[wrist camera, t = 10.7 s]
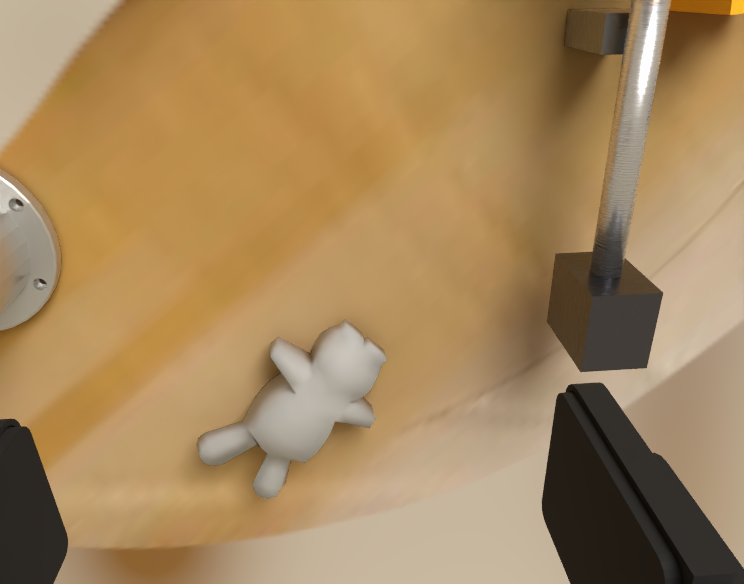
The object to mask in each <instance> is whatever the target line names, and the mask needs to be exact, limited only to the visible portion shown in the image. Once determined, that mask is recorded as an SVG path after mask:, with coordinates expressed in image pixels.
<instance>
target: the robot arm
mask: <svg viewBox="0 0 744 584" xmlns="http://www.w3.org/2000/svg"><path fill="white" fill-rule="evenodd" d="M19 200H20V201H22V203H23V204H22V203H20V202H19ZM60 272H61V252H60V246H59V240H58V237H57V235H56V232H55V229H54V227H53V224H52V222H51V220H50V219H49V217H48V215H47V214H46V212H45V210H44V209H43V207H42V206H41V204H40V203H39V202H38V201H37V200H36V199H35V197H34V196H33V195H32V194H31V193H30V192H29V190H27V189H26V188H25V187H24V186H23V185H22V184H20V183H19V182H18V181H17V180H16V179H15V178H13V177H12V176H11V175H9V174H8V173H6V172H5V171H3V170H1V169H0V331H2V330H6V329H10V328H13V327H15V326H17V325H19V324H21V323H23V322H25V321H27V320H28V319H30V318H31V317H32V316H33V315H34V314H36V313H37V312H38V311H39V310H40V309H41V308H42V307H43V306H44V304H45V303H46V302H47V301H48V300H49V298H50V297H51V295H52V293H53V291H54V290H55V288H56V286H57V282H58V279H59V276H60ZM542 511H543V516H544V520H545V523H546V525H547V528H548V530H549V533H550V535H551V538H552V540H553V542H554V545H555V547H556V550H557V552H558V555H559V557H560V559H561V562H562V564H563V567H564V569H565V571H566V574H567V576H568V579H569V581H570V583H571V584H744V569H743V567H742V566H741V564H740V563H739V562H738V560H737V559H736V557H735V556H734V555H733V553H732V552H731V550H730V549H729V548H728V546H727V545H726V544H725V542H724V541H723V539H722V538H721V537H720V535H719V534H718V532H717V531H716V530H715V528H714V527H713V526H712V524H711V523H710V521H709V520H708V519H707V517H706V516H705V514H704V513H703V512H702V510H701V509H700V508H699V506H698V505H697V503H696V502H695V500H694V499H693V498H692V496H691V495H690V494H689V492H688V491H687V489H686V488H685V487H684V485H683V484H682V483H681V481H680V480H679V479H678V477H677V475H676V474H675V473H674V471H673V470H672V469H671V467H670V466H669V464H668V463H667V462H666V461H665V460H664V459H663V457H662V456H660V455H658V454H656V453H652V452H651V451H650V449H649V448H648V446H647V445H646V443H645V442H644V441H643V439H642V438H641V436H640V435H639V433H638V432H637V431H636V429H635V428H634V426H633V425H632V424H631V422H630V421H629V419H628V418H627V416H626V415H625V414H624V412H623V411H622V409H621V408H620V406H619V405H618V403H617V402H616V401H615V399H614V398H613V396H612V395H611V394H610V392H609V391H608V389H607V388H606V387H605V386H604V384H602V383H584V384H571V385H568V387H567V389H566V393H559V394H558V396H557V399H556V406H555V413H554V420H553V427H552V434H551V441H550V448H549V455H548V462H547V469H546V476H545V483H544V490H543V498H542ZM67 548H68V537H67V533H66V530H65V527H64V525H63V522H62V519H61V516H60V513H59V510H58V508H57V505H56V502H55V499H54V496H53V494H52V491H51V488H50V485H49V482H48V479H47V477H46V474H45V471H44V468H43V465H42V462H41V460H40V457H39V454H38V451H37V448H36V446H35V443H34V440H33V437H32V434H31V432H30V430H29V429H28V428H27V427H24V426H23V427H21V426H20V424H19V422H18V421H16V420H15V419H0V584H53V583H54V581H55V579H56V577H57V574H58V572H59V570H60V568H61V566H62V563H63V561H64V559H65V556H66V553H67Z"/></svg>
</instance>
